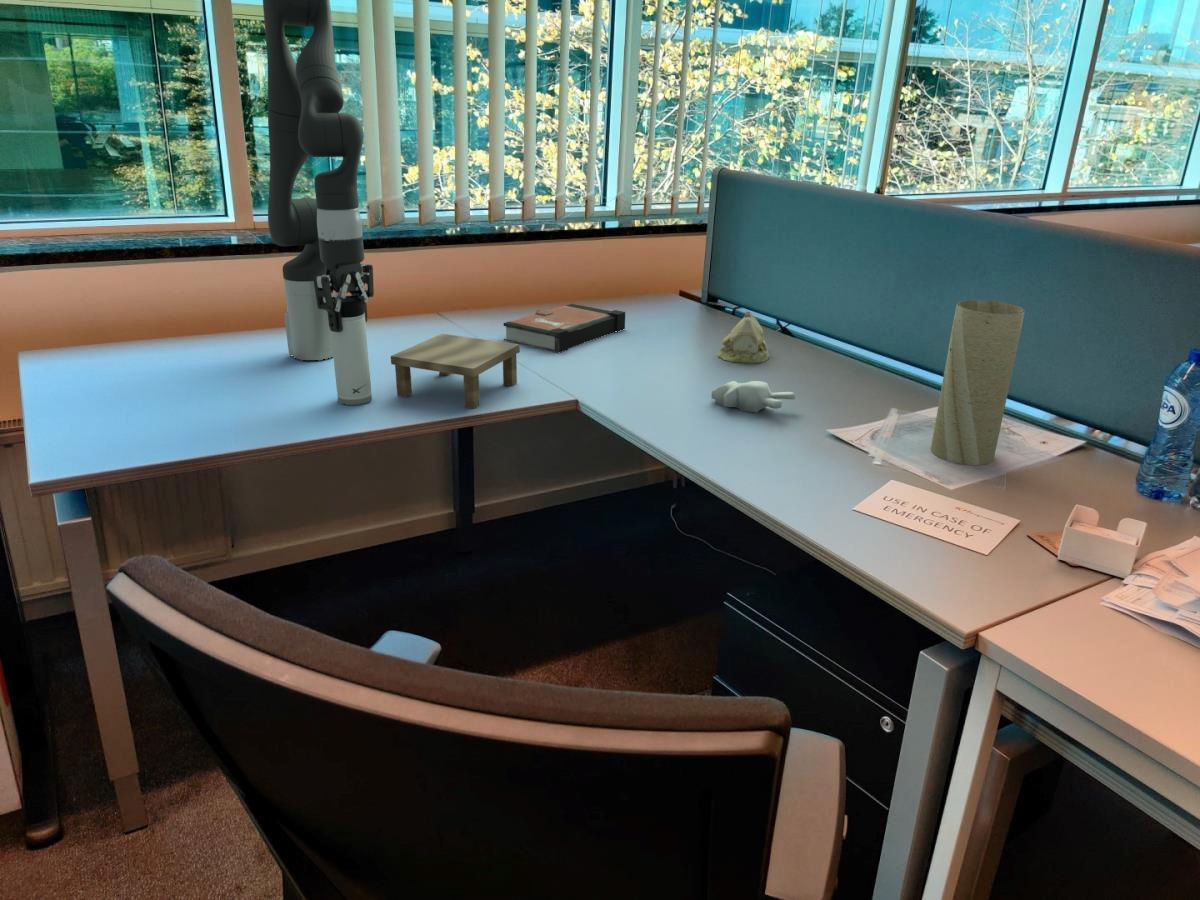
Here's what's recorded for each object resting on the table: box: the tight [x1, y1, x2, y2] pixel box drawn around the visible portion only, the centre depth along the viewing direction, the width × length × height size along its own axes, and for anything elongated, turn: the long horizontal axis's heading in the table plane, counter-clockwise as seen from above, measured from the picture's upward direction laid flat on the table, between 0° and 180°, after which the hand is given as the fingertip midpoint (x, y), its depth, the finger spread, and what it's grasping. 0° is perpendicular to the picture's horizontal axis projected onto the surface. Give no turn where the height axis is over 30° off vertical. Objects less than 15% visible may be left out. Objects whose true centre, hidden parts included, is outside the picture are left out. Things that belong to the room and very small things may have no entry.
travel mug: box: [331, 295, 373, 406], centre depth 161 cm, size 6×7×20 cm
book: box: [503, 303, 626, 353], centre depth 210 cm, size 26×18×5 cm
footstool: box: [390, 333, 521, 410], centre depth 170 cm, size 18×18×8 cm
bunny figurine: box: [710, 380, 796, 414], centre depth 164 cm, size 10×5×15 cm
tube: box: [930, 299, 1026, 466], centre depth 141 cm, size 10×10×25 cm
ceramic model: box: [717, 311, 770, 364], centre depth 196 cm, size 14×11×10 cm
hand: (349, 326), depth 159 cm, fingers open, 6 cm apart
